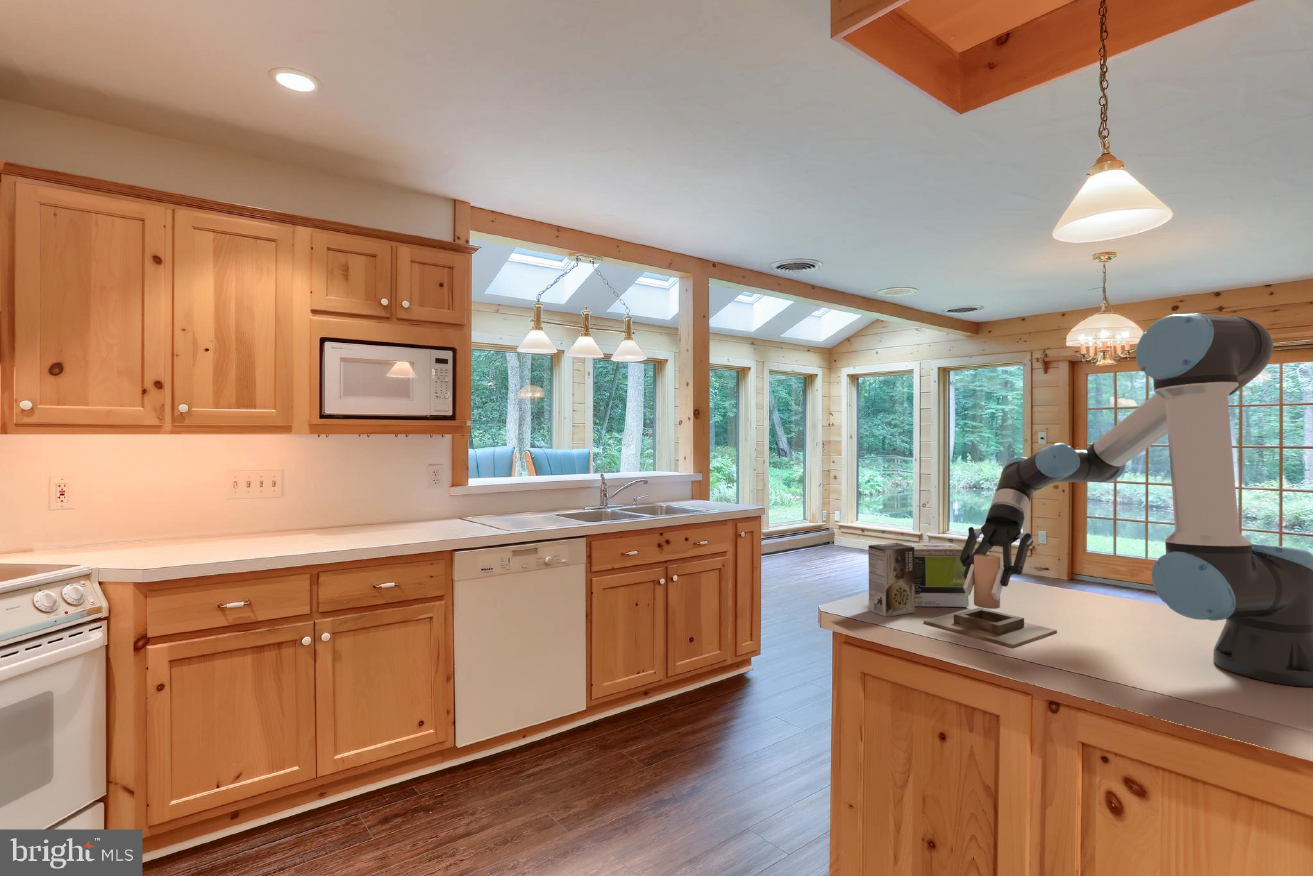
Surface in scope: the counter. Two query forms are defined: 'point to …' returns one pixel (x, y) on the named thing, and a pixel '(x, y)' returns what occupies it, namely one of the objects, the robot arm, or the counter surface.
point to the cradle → (991, 626)
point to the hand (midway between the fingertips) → (980, 593)
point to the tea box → (939, 575)
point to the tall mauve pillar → (985, 580)
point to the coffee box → (891, 579)
